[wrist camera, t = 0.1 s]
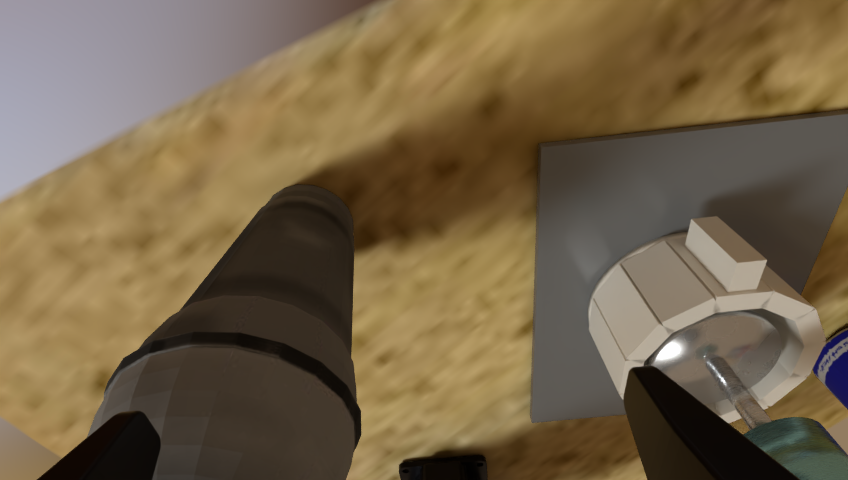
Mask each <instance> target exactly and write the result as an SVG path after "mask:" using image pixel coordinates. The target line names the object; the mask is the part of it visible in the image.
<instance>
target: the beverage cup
mask: <svg viewBox="0 0 848 480" xmlns="http://www.w3.org/2000/svg"><path fill="white" fill-rule="evenodd" d="M353 275H354V236H353V219H352V217H351V214H350V212H349V209H348V208H347V206H346V205H345V204H344V203H343V202H342V200H341V199H340V198H339V197H337V196H336V195H334V194H333V193H331V192H330V191H328V190H326V189H323V188H320V187H317V186H314V185H294V186H291V187H287V188H284V189H282V190H281V191H279V192H278V193H276V194H274V195H273V196H272V198H271V199H270V200H269V202H268V203H267V204H266V205H265V206H264V207H262V208H261V209H260V210H259V211H258V213H257V214H256V215H255V216H254V218H253V219H252V220H251V221H250V223H249V224H248V225H247V226H246V228H245V229H244V230H243V232H242V233H241V234H240V235H239V237H238V238H237V239H236V240H235V242H234V243H233V244H232V245H231V247H230V248H229V249H228V250H227V252H226V253H225V254H224V255H223V257H222V258H221V259H220V261H219V262H218V263H217V264H216V266H215V267H214V268H213V269H212V271H211V272H210V273H209V274H208V276H207V277H206V278H205V279H204V281H203V282H202V283H201V284H200V286H199V287H198V288H197V290H196V291H195V292H194V293H193V295H192V296H191V297H190V298H189V300H188V301H187V302H186V303H185V305H184V306H183V307H182V308H181V310H180V311H179V312H177V313H176V314H174V315H172V316H171V317H169V318H168V319H167V320H166V321H165V322H164V323H163V324H162V325H161V326H160V327H159V328H158V329H157V330H155V331H154V332H153V333H152V334H151V335H150V336H149V337H148V338H147V339H146V340H145V341H144V343H143V344H142V345H141V347H140V348H139V349H138V350H136V351H135V352H133V353H131V354H130V355H128V356H126V357H125V358H123V360H122V361H121V363H120V364H119V366H118V367H117V369H116V370H115V372H114V373H113V375H112V376H111V378H110V379H109V381H108V383H107V386H106V389H105V392H104V400H103V402H102V404H101V406H100V407H99V409H98V411H97V413H96V415H95V417H94V420H93V423H92V425H91V428H90V431H89V434H88V436H90V435H91V434H92V433H93V432H94V431H96V430H97V429H98V428H99V427H100V426H102V425H103V424H104V423H105V422H106V421H108V420H109V419H110V418H111V417H113V416H114V415H115V414H117V413H120V412H127V411H142V412H143V413H145V415H146V416H147V418H148V419H149V421H150V422H151V424H152V425H153V427H154V428H155V430H156V431H157V433H158V434H159V436H160V440H161V448H160V453H159V456H158V460H157V464H156V467H155V471H154V475H153V479H152V480H346V478H347V475H348V472H349V469H350V466H351V463H352V457H353V452H354V450H355V448H356V446H357V444H358V442H359V439H360V436H361V410H360V408H359V406H358V404H357V398H356V383H355V374H354V365H353V361H352V359H351V345H352V310H353ZM88 436H87V437H88Z"/></svg>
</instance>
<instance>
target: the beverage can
mask: <svg viewBox="0 0 848 480" xmlns="http://www.w3.org/2000/svg"><path fill="white" fill-rule="evenodd" d="M813 371H814V374H815V375H816V377H817V378H818V379H819V380H820V381H821V382H822V383H823V384H824V385H825V386H826V387H827V388H828V389H829V390H830V391H831V392H832V393H833V395H834V396H835V397H836V398H837V399H838V400H839V401H840V402H841V403H842V404H843V405H844V406H845V407H846V408H847V409H848V328H846V329H844V330H842V331H840V332H838V333H837V334H836V335H834V336H833V337H831V338H830V339H829V340H827V341H826V343H825V345H824V347H823V349H822V351H821V353H820V355H819V357H818V359H817V361H816V363H815V365H814V367H813Z"/></svg>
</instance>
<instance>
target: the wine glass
mask: <svg viewBox="0 0 848 480" xmlns="http://www.w3.org/2000/svg"><path fill="white" fill-rule="evenodd" d="M781 351H782V340H781V336H780V334H779V332H778V331H777V330H776V329H775V327H774V326H773V325H772V324H771V323H770V322H769V321H768V320H767V319H766V318H765V317H763V316H762V315H761V314H759V313H757V312H755V311H752V310H738V311H728V312H717V313H714V314H712V315H710V316H708V317H706V318H704V319H701V320H699V321H697V322H695V323H693V324H691V325H688V326H686V327H684V328H682V329H680V330H678V331H675V332H673V333H672V334H671V335H670V336H669V337H668V338H667V339H666V340H665V341H664V342H663V343H662V344H661V345H660V346H659V347H658V348H657V349H656V350H655V351H654V352H653V353H652V354H651V355H650V356H649V357H648V358H647V362H646V366H654V367H656V368H658V369H659V370H661V371H662V372H663V373H665V374H666V375H667V376H668V377H670V378H671V379H672V380H674V381H675V382H676V383H677V384H679V385H680V386H681V387H682V388H684V389H685V390H686V391H688V392H689V393H690V394H691V395H693V396H694V397H695V398H697V399H698V400H699V401H700V402H702V403H703V404H708V403H713V402H718V401H721V400H725V399H729V401H730V402H731V404H732V405H733V406H734V408H735V409H736V411H737V412H738V414H739V415H740V416H741V418H742V419H743V421H744V422H745V423H746V425H747V426H748V428H749V429H750V431H748V432H747V433H745V434H744V436H745V437H746V438H748V439H749V440H750V441H752V442H753V443H754V444H755V445H757V446H758V447H759V448H761V449H762V450H763V451H764V452H766V453H767V454H768V455H769V456H771V457H772V458H773V459H775V460H776V461H777V462H778V463H780V464H781V465H782V466H784V467H785V468H786V469H787V470H789V471H790V472H791V473H793V474H794V475H795V476H796V477H798V478H799V479H800V480H848V455H847V454H846V453H845V451H844V450H843V449H842V448H841V447H840V446H839V445H838V444H837V442H836V441H835V440H834V439H833V438H832V436H831V435H830V434H829V433H828V432H827V431H826V429H825V428H824V427H823V426H822V425H821V424H820V423H819V422H817V421H815V420H813V419H809V418H803V417H790V418H783V419H778V420H774V421H772V420H771V419H770V418H769V417H768V415H767V414H766V413H765V411H764V410H763V409H762V407H761V406H760V405H759V404H758V402H757V401H756V400H755V398H754V397H753V396H752V394H751V393H750V392H749V391H748V389H749V388H751V387H752V386H754V385H755V384H757V383H758V382H759V381H761V380H762V379H763V378H764V377H765V376H766V375H767V374H768V373H769V372H770V371H771V370H772V369H773V367H774V366H775V365H776V363H777V361H778V359H779V357H780V354H781Z"/></svg>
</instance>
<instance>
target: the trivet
mask: <svg viewBox="0 0 848 480" xmlns="http://www.w3.org/2000/svg"><path fill="white" fill-rule="evenodd" d="M847 187H848V110H840V111H831V112H822V113H813V114H803V115H794V116H785V117H776V118H767V119H758V120H749V121H740V122H730V123H721V124H712V125H703V126H694V127H685V128H676V129H667V130H658V131H648V132H639V133H630V134H621V135H612V136H603V137H594V138H585V139H575V140H566V141H557V142H548V143H539V149H538V182H537V214H536V246H535V278H534V310H533V342H532V374H531V406H530V418H531V422H532V423H536V422H547V421H558V420H570V419H581V418H592V417H603V416H614V415H625V414H626V411H625V408H624V402H623V399H622V398H621V397H620V395H619V393H618V391H617V389H616V387H615V385H614V382H613V380H612V378H611V376H610V374H609V372H608V370H607V368H606V366H605V363H604V361H603V359H602V357H601V355H600V353H599V351H598V349H597V346H596V344H595V342H594V340H593V338H592V336H591V334H590V332H589V323H588V317H587V313H588V304H589V299H590V297H591V294H592V291H593V290H594V288H595V286H596V284H597V282H598V281H599V280H600V278H601V277H602V275H603V274H604V273H605V272H606V271H607V270H608V269H609V268H610V267H611V266H612V265H613V264H614V263H615V262H616V261H617V260H618V259H620V258H621V257H623V256H624V255H625V254H627V253H628V252H630V251H631V250H633V249H635V248H637V247H638V246H640V245H642V244H645V243H647V242H649V241H651V240H654V239H657V238H660V237H663V236H667V235H671V234H676V233H682V232H688V230H689V226H690V222H691V219H695V218H705V217H714V216H717V217H718V218H720V219H721V220H722V221H723V222H724V223H725V224H727V225H728V226H729V227H730V228H731V229H732V230H733V231H735V232H736V233H737V234H738V235H739V236H740V237H741V238H743V239H744V240H745V241H746V242H747V243H748V244H749V245H751V246H752V247H753V248H754V249H755V250H756V251H758V252H759V253H760V254H761V255H762V256H763V257H764V258H766V259H767V262H766V265H767V266H768V267H769V268H770V269H771V270H772V271H774V272H775V273H776V274H777V275H778V276H779V277H780V278H781V279H783V280H784V281H785V282H786V283H787V284H788V285H789V286H790V287H792V288H793V289H794V290H795V291H796V292H797V293H798V294H799V295H801V293H802V291H803V288H804V286H805V284H806V281H807V279H808V277H809V274H810V272H811V270H812V268H813V265H814V263H815V261H816V258H817V256H818V254H819V251H820V249H821V247H822V244H823V242H824V240H825V237H826V235H827V233H828V231H829V228H830V226H831V224H832V221H833V219H834V217H835V214H836V212H837V210H838V207H839V205H840V203H841V201H842V198H843V196H844V194H845V191H846V189H847Z"/></svg>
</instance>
